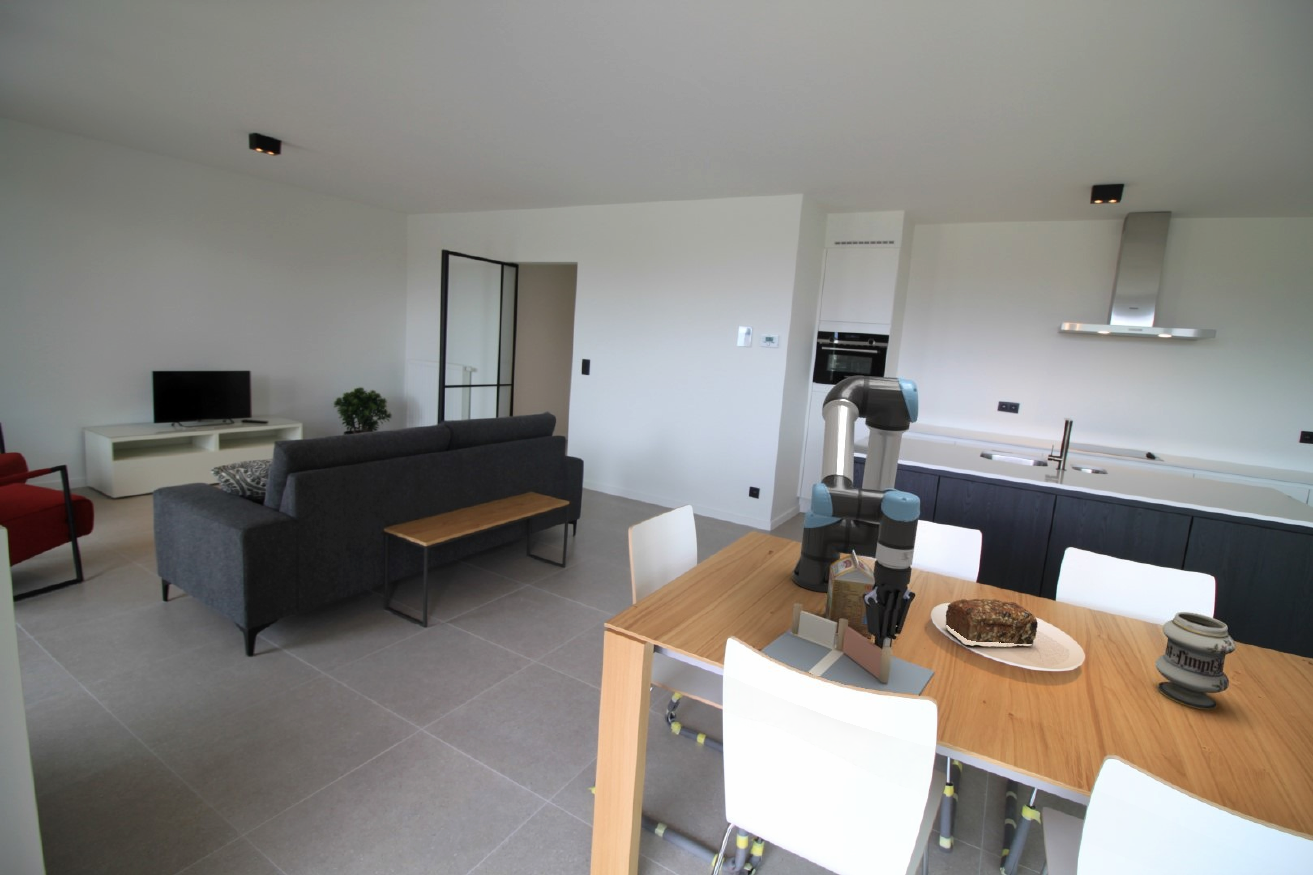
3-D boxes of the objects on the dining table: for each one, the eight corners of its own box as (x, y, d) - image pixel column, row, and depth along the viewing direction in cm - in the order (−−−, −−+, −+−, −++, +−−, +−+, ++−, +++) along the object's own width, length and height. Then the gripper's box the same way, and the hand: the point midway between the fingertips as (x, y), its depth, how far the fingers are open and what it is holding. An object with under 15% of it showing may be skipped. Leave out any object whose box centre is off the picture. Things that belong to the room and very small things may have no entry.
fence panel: (841, 651, 140) (844, 621, 139) (847, 650, 141) (851, 620, 140) (883, 683, 128) (887, 651, 126) (890, 681, 128) (894, 649, 127)
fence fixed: (793, 630, 150) (796, 602, 149) (846, 649, 142) (849, 620, 141) (789, 632, 149) (792, 604, 148) (842, 652, 141) (846, 623, 139)
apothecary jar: (1150, 675, 140) (1165, 602, 137) (1220, 696, 133) (1237, 620, 130) (1150, 696, 131) (1166, 619, 128) (1225, 720, 123) (1244, 639, 121)
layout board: (798, 624, 155) (798, 622, 155) (934, 673, 135) (934, 670, 135) (756, 655, 138) (756, 653, 138) (904, 717, 118) (905, 714, 118)
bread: (966, 649, 148) (972, 611, 146) (941, 628, 158) (947, 592, 157) (1036, 649, 150) (1042, 611, 148) (1007, 629, 160) (1013, 593, 159)
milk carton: (871, 638, 150) (880, 566, 147) (827, 631, 152) (836, 560, 149) (865, 619, 160) (874, 552, 157) (825, 614, 162) (832, 546, 159)
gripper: (881, 572, 124) (868, 676, 128) (929, 567, 129) (915, 668, 133) (857, 559, 131) (845, 658, 135) (903, 554, 136) (891, 651, 140)
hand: (880, 663), depth 134 cm, fingers closed
